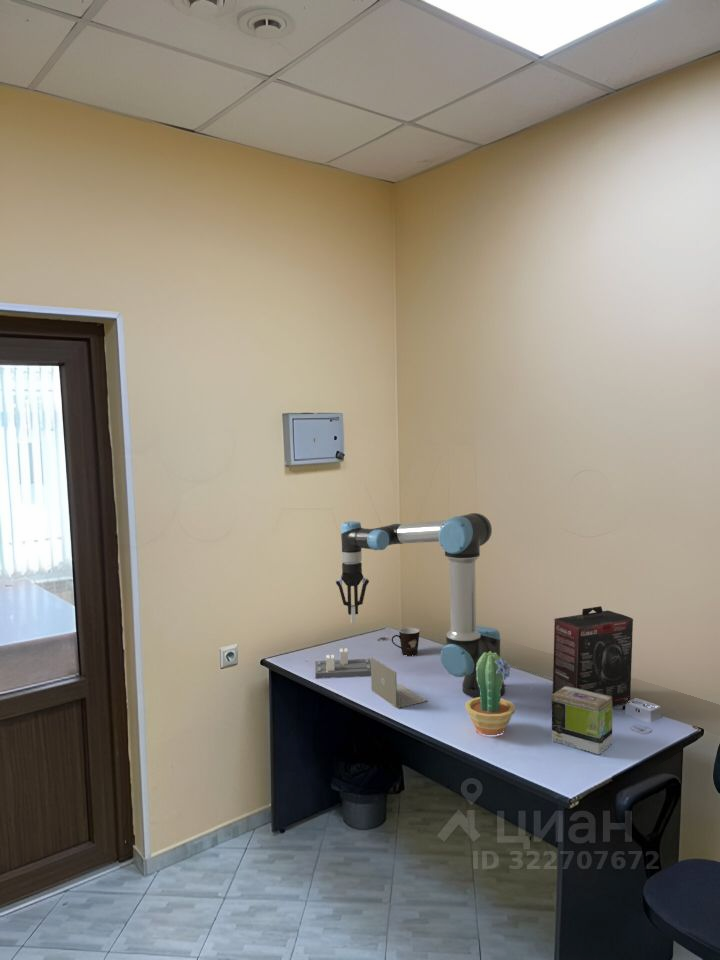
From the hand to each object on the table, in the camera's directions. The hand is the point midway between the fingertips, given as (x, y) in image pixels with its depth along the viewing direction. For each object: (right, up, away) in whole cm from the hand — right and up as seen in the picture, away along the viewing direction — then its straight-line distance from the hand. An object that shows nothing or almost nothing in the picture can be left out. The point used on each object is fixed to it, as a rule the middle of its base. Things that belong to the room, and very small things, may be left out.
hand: (353, 622), depth 268 cm
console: (-4, -20, +5) cm, 21 cm away
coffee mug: (+22, -18, +24) cm, 37 cm away
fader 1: (-9, -18, +1) cm, 20 cm away
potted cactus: (+43, -24, -51) cm, 71 cm away
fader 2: (-4, -17, +8) cm, 20 cm away
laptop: (+16, -22, -22) cm, 35 cm away
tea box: (+69, -24, -60) cm, 94 cm away
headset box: (+82, -21, -31) cm, 90 cm away
